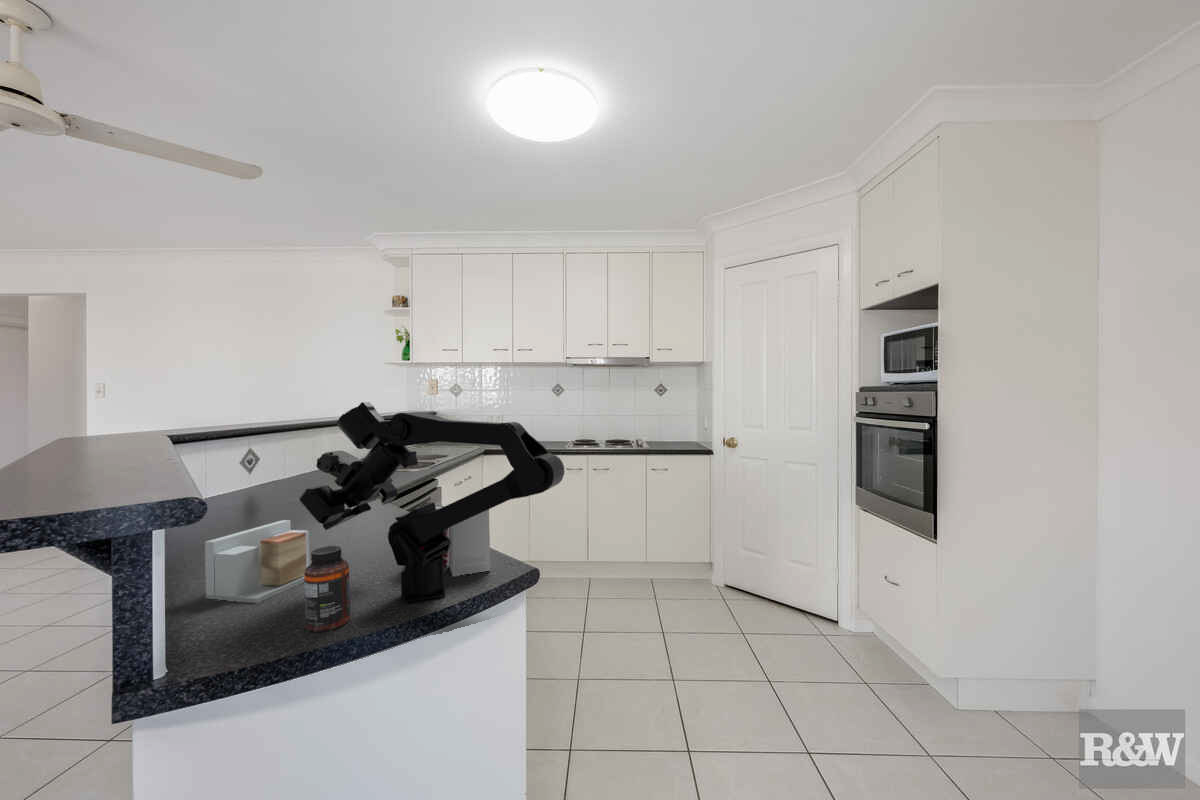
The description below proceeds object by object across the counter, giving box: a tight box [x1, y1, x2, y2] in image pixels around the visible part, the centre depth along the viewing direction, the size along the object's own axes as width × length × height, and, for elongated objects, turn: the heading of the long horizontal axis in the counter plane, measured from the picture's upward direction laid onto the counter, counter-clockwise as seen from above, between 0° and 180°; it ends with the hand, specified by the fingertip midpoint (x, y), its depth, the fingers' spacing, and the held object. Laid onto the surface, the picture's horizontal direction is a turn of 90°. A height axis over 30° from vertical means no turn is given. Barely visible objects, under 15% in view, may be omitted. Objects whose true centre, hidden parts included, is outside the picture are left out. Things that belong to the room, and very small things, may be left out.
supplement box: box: [448, 509, 491, 577], centre depth 97 cm, size 7×7×13 cm
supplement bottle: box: [303, 545, 351, 633], centre depth 73 cm, size 6×6×11 cm
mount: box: [204, 519, 310, 604], centre depth 91 cm, size 11×16×10 cm
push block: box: [260, 532, 306, 586], centre depth 90 cm, size 4×6×8 cm, turn 168°
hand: (325, 527), depth 89 cm, fingers closed
